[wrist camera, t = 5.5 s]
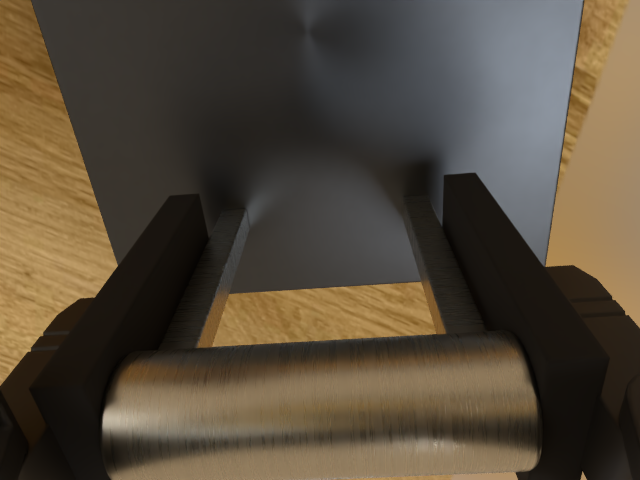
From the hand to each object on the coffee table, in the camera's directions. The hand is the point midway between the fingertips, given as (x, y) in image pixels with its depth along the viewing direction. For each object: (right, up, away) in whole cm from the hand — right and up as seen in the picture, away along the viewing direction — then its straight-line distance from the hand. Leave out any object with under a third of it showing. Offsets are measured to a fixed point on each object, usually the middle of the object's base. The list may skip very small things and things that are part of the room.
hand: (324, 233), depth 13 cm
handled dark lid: (0, +5, 0) cm, 5 cm away
